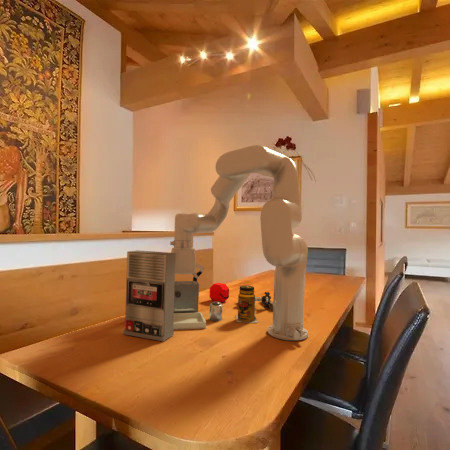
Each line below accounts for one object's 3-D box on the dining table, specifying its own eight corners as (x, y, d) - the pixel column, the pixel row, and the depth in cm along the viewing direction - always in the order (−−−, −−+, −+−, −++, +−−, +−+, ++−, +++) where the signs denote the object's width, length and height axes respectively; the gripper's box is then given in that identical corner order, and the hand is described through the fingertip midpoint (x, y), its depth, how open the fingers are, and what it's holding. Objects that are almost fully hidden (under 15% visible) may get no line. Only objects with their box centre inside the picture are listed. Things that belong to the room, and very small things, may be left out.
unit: (198, 317, 112) (199, 284, 112) (170, 318, 110) (171, 284, 110) (195, 312, 119) (196, 280, 119) (169, 313, 116) (170, 281, 116)
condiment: (237, 322, 108) (238, 288, 108) (235, 315, 116) (236, 283, 116) (257, 323, 108) (259, 288, 108) (254, 316, 117) (255, 284, 116)
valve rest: (276, 310, 124) (276, 304, 124) (247, 311, 122) (247, 305, 122) (264, 301, 138) (264, 296, 138) (238, 302, 135) (238, 296, 135)
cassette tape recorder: (122, 335, 93) (125, 251, 93) (135, 328, 99) (137, 250, 98) (162, 342, 88) (165, 254, 88) (173, 335, 94) (176, 253, 94)
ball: (219, 304, 131) (220, 286, 131) (206, 301, 136) (206, 283, 136) (231, 301, 137) (232, 284, 137) (218, 298, 142) (218, 281, 142)
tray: (205, 328, 101) (206, 322, 101) (171, 329, 99) (171, 323, 99) (201, 317, 112) (201, 312, 112) (169, 318, 110) (169, 313, 110)
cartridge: (223, 321, 109) (223, 304, 109) (210, 321, 108) (211, 304, 108) (220, 317, 114) (221, 300, 113) (208, 317, 113) (208, 301, 112)
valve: (239, 308, 130) (265, 311, 124) (237, 293, 129) (263, 295, 123) (246, 302, 136) (272, 304, 129) (244, 287, 135) (270, 289, 128)
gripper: (161, 245, 118) (159, 290, 118) (206, 246, 121) (204, 289, 121) (161, 243, 125) (159, 285, 125) (203, 244, 129) (202, 285, 129)
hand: (181, 287), depth 123 cm, fingers open, 9 cm apart
